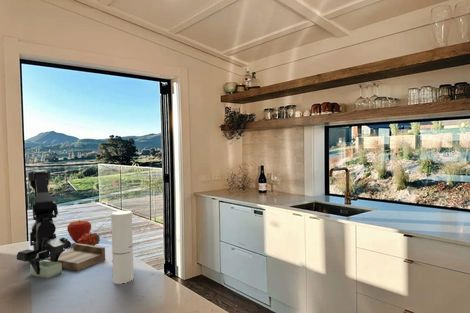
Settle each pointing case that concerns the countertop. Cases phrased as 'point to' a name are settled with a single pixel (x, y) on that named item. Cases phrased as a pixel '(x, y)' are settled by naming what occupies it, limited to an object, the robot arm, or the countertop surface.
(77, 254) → the walnut shelf
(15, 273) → the countertop surface
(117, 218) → the cylindrical container
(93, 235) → the dragon fruit
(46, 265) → the sage tray
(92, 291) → the countertop surface
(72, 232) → the apple
